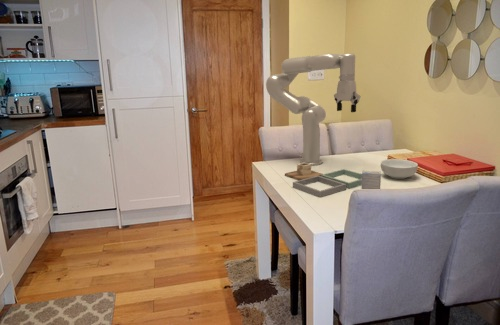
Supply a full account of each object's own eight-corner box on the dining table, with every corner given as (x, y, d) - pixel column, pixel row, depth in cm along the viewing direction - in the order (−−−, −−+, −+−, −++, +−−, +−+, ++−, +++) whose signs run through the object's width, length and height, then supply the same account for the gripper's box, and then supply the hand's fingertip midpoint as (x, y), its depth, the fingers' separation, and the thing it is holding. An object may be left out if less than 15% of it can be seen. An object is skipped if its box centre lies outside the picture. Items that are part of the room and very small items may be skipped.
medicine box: (380, 189, 166) (381, 171, 163) (380, 193, 162) (381, 173, 159) (361, 188, 168) (362, 170, 166) (361, 191, 164) (361, 172, 162)
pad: (284, 175, 192) (284, 173, 192) (305, 170, 200) (305, 168, 199) (303, 181, 181) (303, 179, 180) (323, 176, 188) (323, 174, 188)
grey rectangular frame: (292, 187, 174) (292, 182, 173) (317, 180, 182) (317, 175, 181) (320, 197, 159) (320, 191, 158) (346, 189, 168) (346, 184, 167)
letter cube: (297, 173, 191) (297, 164, 189) (304, 171, 193) (304, 162, 192) (303, 175, 187) (303, 166, 185) (311, 173, 189) (311, 164, 188)
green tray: (320, 179, 183) (320, 174, 183) (343, 173, 192) (343, 168, 191) (349, 188, 169) (349, 183, 168) (372, 181, 177) (372, 176, 177)
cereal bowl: (399, 184, 172) (400, 169, 171) (372, 175, 187) (373, 162, 185) (424, 177, 180) (425, 163, 178) (396, 170, 194) (397, 157, 192)
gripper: (329, 78, 198) (329, 110, 202) (355, 78, 184) (354, 113, 188) (339, 77, 202) (338, 109, 206) (365, 78, 188) (364, 111, 192)
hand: (346, 111), depth 197 cm, fingers open, 9 cm apart
